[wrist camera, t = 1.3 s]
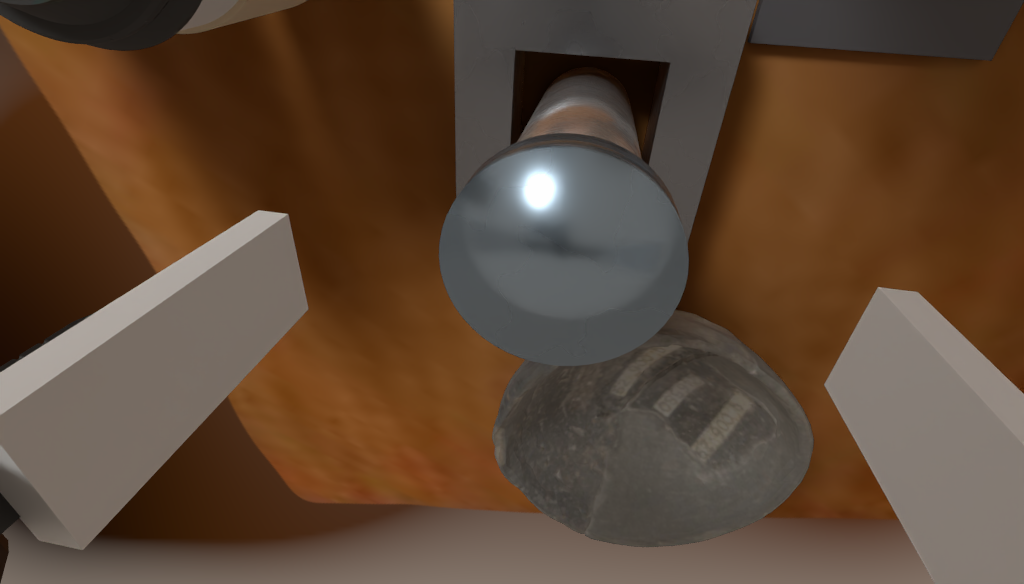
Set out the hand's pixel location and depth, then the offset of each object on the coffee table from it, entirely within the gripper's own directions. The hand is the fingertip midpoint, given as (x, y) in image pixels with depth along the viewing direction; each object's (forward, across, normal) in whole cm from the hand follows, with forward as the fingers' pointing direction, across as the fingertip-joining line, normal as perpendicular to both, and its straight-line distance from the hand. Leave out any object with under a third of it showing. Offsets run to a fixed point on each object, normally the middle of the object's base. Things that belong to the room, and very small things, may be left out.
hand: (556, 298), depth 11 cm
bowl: (+17, +6, -16) cm, 25 cm away
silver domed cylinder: (+17, 0, 0) cm, 17 cm away
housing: (+17, 0, 0) cm, 17 cm away
